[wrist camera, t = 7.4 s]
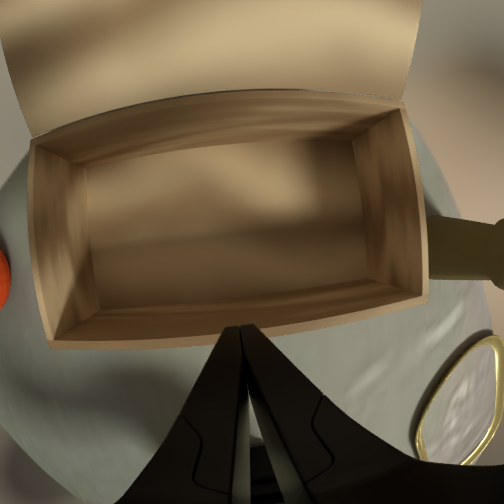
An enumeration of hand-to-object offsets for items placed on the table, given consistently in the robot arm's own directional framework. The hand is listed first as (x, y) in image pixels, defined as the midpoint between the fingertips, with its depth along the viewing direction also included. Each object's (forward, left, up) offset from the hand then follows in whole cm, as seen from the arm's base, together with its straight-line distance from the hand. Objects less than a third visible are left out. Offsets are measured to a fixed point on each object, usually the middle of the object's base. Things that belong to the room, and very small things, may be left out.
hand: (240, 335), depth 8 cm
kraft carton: (+4, 0, -12) cm, 13 cm away
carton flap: (+13, 0, 0) cm, 13 cm away
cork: (0, -19, -12) cm, 23 cm away
